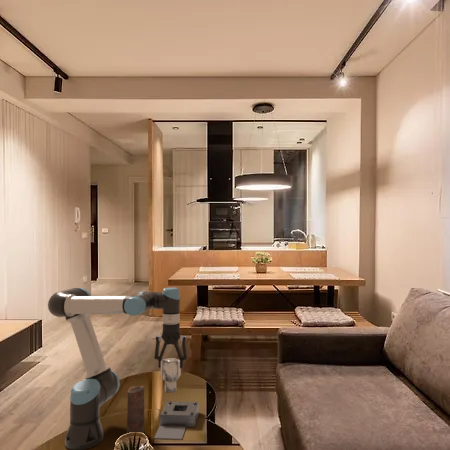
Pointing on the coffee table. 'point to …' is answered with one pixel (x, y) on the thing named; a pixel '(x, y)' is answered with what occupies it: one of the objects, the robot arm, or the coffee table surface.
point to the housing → (179, 414)
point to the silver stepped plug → (170, 374)
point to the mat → (170, 432)
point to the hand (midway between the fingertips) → (170, 375)
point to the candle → (135, 409)
